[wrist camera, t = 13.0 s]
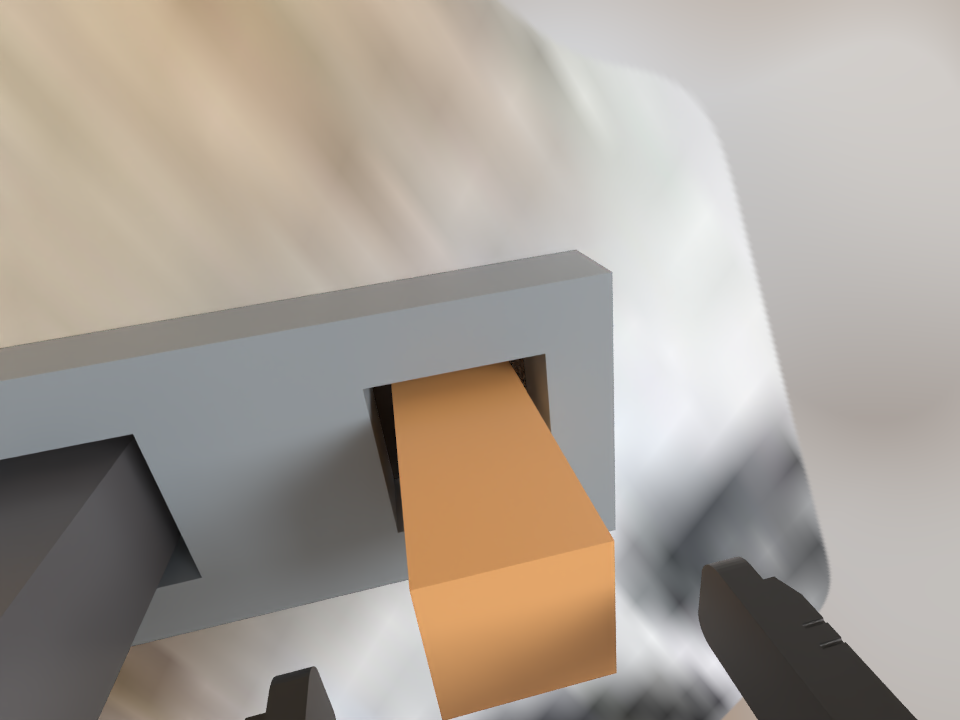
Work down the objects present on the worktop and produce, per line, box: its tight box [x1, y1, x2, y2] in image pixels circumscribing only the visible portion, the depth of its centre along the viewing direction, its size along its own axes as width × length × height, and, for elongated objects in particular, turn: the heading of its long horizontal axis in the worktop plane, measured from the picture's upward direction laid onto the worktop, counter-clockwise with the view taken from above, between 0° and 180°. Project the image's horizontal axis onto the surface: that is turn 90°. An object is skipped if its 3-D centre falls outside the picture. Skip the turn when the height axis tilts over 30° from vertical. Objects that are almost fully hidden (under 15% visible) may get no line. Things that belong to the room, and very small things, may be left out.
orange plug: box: [391, 361, 616, 720], centre depth 15 cm, size 4×4×10 cm
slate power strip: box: [0, 250, 615, 720], centre depth 15 cm, size 22×10×10 cm, turn 97°
